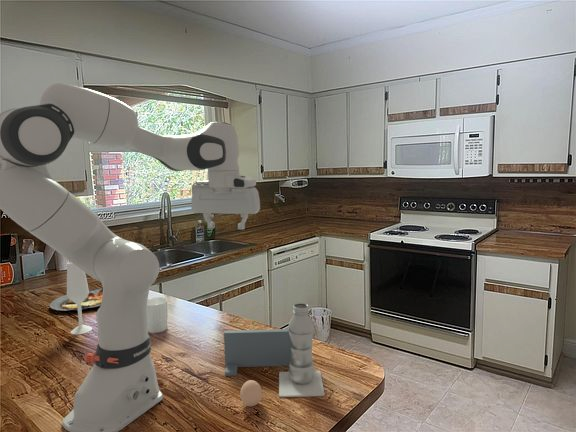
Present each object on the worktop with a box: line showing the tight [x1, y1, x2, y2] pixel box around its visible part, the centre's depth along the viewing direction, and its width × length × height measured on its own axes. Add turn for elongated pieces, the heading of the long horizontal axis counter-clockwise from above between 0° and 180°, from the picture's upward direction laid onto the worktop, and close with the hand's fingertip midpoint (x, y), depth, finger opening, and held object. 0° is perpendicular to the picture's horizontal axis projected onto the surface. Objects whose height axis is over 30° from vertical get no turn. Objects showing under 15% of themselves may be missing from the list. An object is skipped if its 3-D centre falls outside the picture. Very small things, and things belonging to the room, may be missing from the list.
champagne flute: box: [66, 261, 93, 335], centre depth 137 cm, size 7×7×24 cm
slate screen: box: [223, 328, 291, 377], centre depth 110 cm, size 6×22×10 cm, turn 91°
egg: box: [239, 379, 263, 408], centre depth 94 cm, size 5×5×6 cm
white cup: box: [146, 296, 169, 334], centre depth 138 cm, size 8×8×10 cm
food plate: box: [49, 287, 103, 311], centre depth 166 cm, size 25×23×4 cm
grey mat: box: [278, 370, 326, 398], centre depth 103 cm, size 11×11×1 cm
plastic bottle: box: [288, 302, 316, 384], centre depth 103 cm, size 6×7×20 cm
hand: (226, 228), depth 117 cm, fingers open, 8 cm apart
